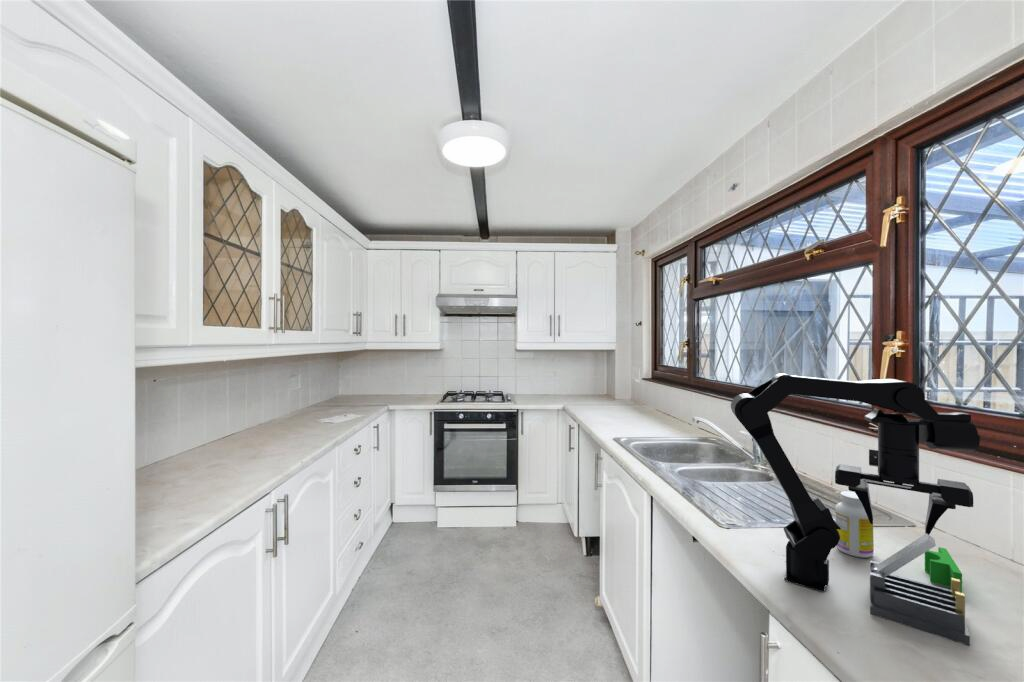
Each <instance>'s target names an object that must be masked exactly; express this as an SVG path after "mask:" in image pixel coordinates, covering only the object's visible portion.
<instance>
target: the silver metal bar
mask: <svg viewBox="0 0 1024 682" xmlns="http://www.w3.org/2000/svg"><path fill="white" fill-rule="evenodd" d="M935 547H937V545H936V540H935V538H934V537H932V536H931V535H930V534H927V533H926V534H925V533H924V534H923V535H922V536H920V537H918V538H917V539H915V540H914V541H912V542H911V543H909V544H908V545H906V546H905V547H903V548H901V549H900V550H898V551H897V552H895V553H893V554H891V556H889V557H887V558H885V559H884V560H882V561H881V562H880V563H879V564H873V565H872V566H871V567H870V572H872V573H876V574H880V575H883V576H885V577H886V576H888V575H890V574H893V573H895V572H896V571H898V570H900V569H901V568H903V567H904V566H906V565H907V564H909V563H910V562H912V561H913V560H915V559H917V558H919V557H920V556H921V555H923V554H925V552H927V551H928V550H929V551H931V549H933V548H935Z"/></svg>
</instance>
